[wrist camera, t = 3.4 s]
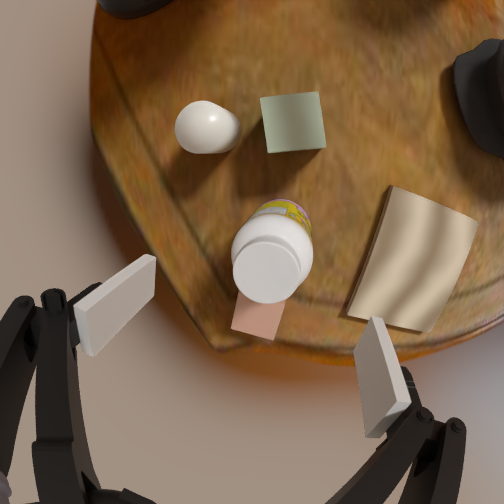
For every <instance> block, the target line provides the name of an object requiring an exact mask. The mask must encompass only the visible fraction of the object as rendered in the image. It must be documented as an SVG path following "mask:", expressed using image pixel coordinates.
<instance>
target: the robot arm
mask: <svg viewBox="0 0 504 504" xmlns="http://www.w3.org/2000/svg"><path fill="white" fill-rule="evenodd" d="M97 1H98V3H99V5H100V6H101V8H102V9H103V10H104V11H105V12H107V13H108V14H110V15H112V16H114V17H116V18H120V19H133V18H137V17H141V16H144V15H147V14H149V13H152V12H154V11H156V10H158V9H160V8H161V7H163V6H165V5H166V4H168V3H169V2H171V1H172V0H97ZM155 267H156V257H154V256H151V255H148V254H145V255H143V256H142V257H140V258H139V259H137V260H136V261H134V262H133V263H131V264H130V265H129V266H127V267H126V268H124V269H123V270H121V271H120V272H119V273H117V274H116V275H114V276H113V277H111V278H110V279H109V280H107V281H106V282H105V283H100V282H98V283H95V284H92V285H91V286H89V287H88V288H86V289H85V290H83V291H82V292H80V294H78V295H76V296H75V297H74V298H72V299H71V300H69V301H68V302H67V300H66V294H65V292H64V291H63V290H61V289H56V288H53V289H48V290H46V291H44V292H43V293H42V294H41V296H40V297H41V302H42V306H43V308H41V307H37V306H35V303H34V300H33V298H32V297H30V296H20V297H18V298H16V299H15V300H14V301H13V302H12V304H11V305H10V307H9V308H8V310H7V311H6V313H5V314H4V316H3V318H2V319H1V321H0V504H10V503H9V499H8V497H10V496H11V493H12V491H11V488H10V487H9V483H8V480H7V478H6V477H7V475H8V472H9V469H10V465H11V461H12V456H13V450H14V444H15V439H16V434H17V430H18V426H19V421H20V417H21V413H22V410H23V406H24V402H25V399H26V395H27V392H28V389H29V386H30V382H31V380H32V376H33V373H34V371H35V368H36V365H37V368H36V390H35V392H36V393H35V415H36V435H37V439H36V441H34V442H33V443H32V458H33V467H34V474H35V480H36V485H37V491H38V496H39V501H40V502H35V503H28V504H156V503H155V502H153V501H152V500H150V499H147V498H145V497H142V496H140V495H138V494H136V493H134V492H132V491H130V490H128V489H125V488H124V489H123V490H122V492H121V491H116V490H108V489H101V486H100V483H99V481H98V478H97V476H96V474H95V471H94V469H93V465H92V461H91V457H90V452H89V448H88V443H87V438H86V433H85V427H84V421H83V415H82V407H81V400H80V391H79V380H78V367H77V350H76V345H78V344H79V343H80V344H81V348H82V351H83V352H85V353H87V354H88V355H90V356H92V357H95V355H96V354H97V353H98V352H99V351H100V350H101V349H102V348H103V347H104V346H105V345H106V344H107V343H108V342H109V341H110V340H111V339H112V338H113V337H114V336H115V335H116V334H117V333H118V332H119V330H120V329H121V328H122V327H123V326H124V325H125V324H126V323H127V322H128V321H129V320H130V319H131V318H132V317H133V316H134V315H135V314H136V313H137V312H138V311H139V310H140V309H141V308H142V307H143V306H144V305H145V304H146V303H147V302H148V301H149V300H150V299H151V298H152V297H153V296H154V285H155ZM353 352H354V358H355V364H356V369H357V376H358V382H359V389H360V396H361V403H362V411H363V418H364V428H365V437H368V438H380V437H381V436H382V435H383V434H384V433H385V432H386V433H387V438H386V439H385V440H384V441H383V442H382V443H381V444H380V445H379V446H378V447H377V448H376V451H375V453H374V454H373V455H372V456H371V457H370V458H369V460H368V461H367V462H366V463H365V464H364V465H363V466H362V467H361V468H360V469H359V471H358V472H357V473H356V474H355V475H354V476H353V477H352V478H351V479H350V480H349V481H348V482H347V483H346V484H345V485H344V486H343V487H342V488H341V489H340V490H339V491H338V492H337V493H336V494H335V495H334V496H333V497H332V498H331V499H329V500H328V501H327V502H326V503H325V504H383V503H384V502H385V500H386V499H387V498H388V497H389V495H390V494H391V493H392V491H393V490H394V489H395V487H396V486H397V484H398V483H399V481H400V480H401V479H402V477H403V476H404V474H405V472H406V471H407V469H408V468H409V466H410V465H411V463H412V462H413V463H412V466H411V469H410V473H409V475H408V479H407V481H406V484H405V487H404V490H403V493H402V495H401V497H400V500H399V502H398V504H456V502H457V498H458V493H459V488H460V482H461V477H462V470H463V463H464V454H465V443H466V426H465V424H464V423H463V422H462V421H461V420H460V419H458V418H455V417H453V418H450V419H449V420H448V421H447V422H446V423H442V422H439V421H436V420H434V416H433V414H432V413H431V412H430V411H429V410H428V409H427V408H425V407H422V405H421V402H420V399H419V396H418V393H417V390H416V388H415V384H414V382H413V378H412V375H411V373H410V372H409V371H408V370H407V368H406V367H403V366H400V365H399V362H398V359H397V356H396V353H395V350H394V348H393V345H392V342H391V339H390V337H389V334H388V332H387V329H386V326H385V324H384V321H383V319H382V318H379V317H375V316H371V317H370V319H369V321H368V323H367V326H366V328H365V330H364V332H363V334H362V336H361V338H360V339H359V341H358V343H357V345H356V347H355V349H354V351H353Z"/></svg>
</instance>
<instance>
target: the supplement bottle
mask: <svg viewBox="0 0 504 504" xmlns="http://www.w3.org/2000/svg"><path fill="white" fill-rule="evenodd" d="M231 258H232V264H233V278H234V281H235V283H236V285H237V287H238V289H239V290H240V291H241V292H242V293H243V294H244V295H245V296H246V297H248V298H249V299H251V300H253V301H255V302H258V303H263V304H273V303H278V302H280V301H283V300H285V299H287V298H288V297H289V296H291V295H292V294H293V292H294V291H295V290H296V288H297V286H299V285H300V284H301V283H302V282H303V281H304V280H305V278H306V277H307V275H308V274H309V272H310V269H311V266H312V262H313V247H312V233H311V225H310V221H309V218H308V216H307V214H306V213H305V211H304V210H303V209H302V208H301V207H300V206H299V205H297V204H296V203H294V202H292V201H289V200H284V199H276V200H272V201H269V202H266V203H264V204H263V205H262V206H260V207H259V208H258V209H257V210H256V211H255V212H254V214H253V215H252V216H251V217H250V218H249V220H248V221H247V222H246V223H245V224H244V225H243V226H242V228H241V229H240V230H239V232H238V233H237V235H236V236H235V238H234V241H233V244H232V250H231Z"/></svg>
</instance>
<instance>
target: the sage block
mask: <svg viewBox="0 0 504 504" xmlns="http://www.w3.org/2000/svg"><path fill="white" fill-rule="evenodd" d="M260 102H261V109H262V115H263V122H264V129H265V136H266V143H267V150H268V153H281V152H290V151H301V150H312V149H323V148H326V141H325V133H324V126H323V119H322V112H321V106H320V100H319V94H318V92H307V93H296V94H287V95H278V96H271V97H264V98H260Z"/></svg>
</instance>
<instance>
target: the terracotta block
mask: <svg viewBox="0 0 504 504" xmlns="http://www.w3.org/2000/svg"><path fill="white" fill-rule="evenodd" d="M285 302H286V299H285V300H283V301H280V302H278V303H273V304H263V303H258V302H255V301H253V300H251V299H249V298H248V297H246V296H245V295H244V294H243V293H242V292H241V291H240V290H239V293H238V297H237V302H236V307H235V311H234V316H233V321H232V326H231V329H233V330H237V331H241V332H244V333H248V334H251V335H255V336H259V337H262V338H266V339H270V340H274V337H275V334H276V331H277V328H278V325H279V322H280V319H281V316H282V313H283V309H284V306H285Z"/></svg>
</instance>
